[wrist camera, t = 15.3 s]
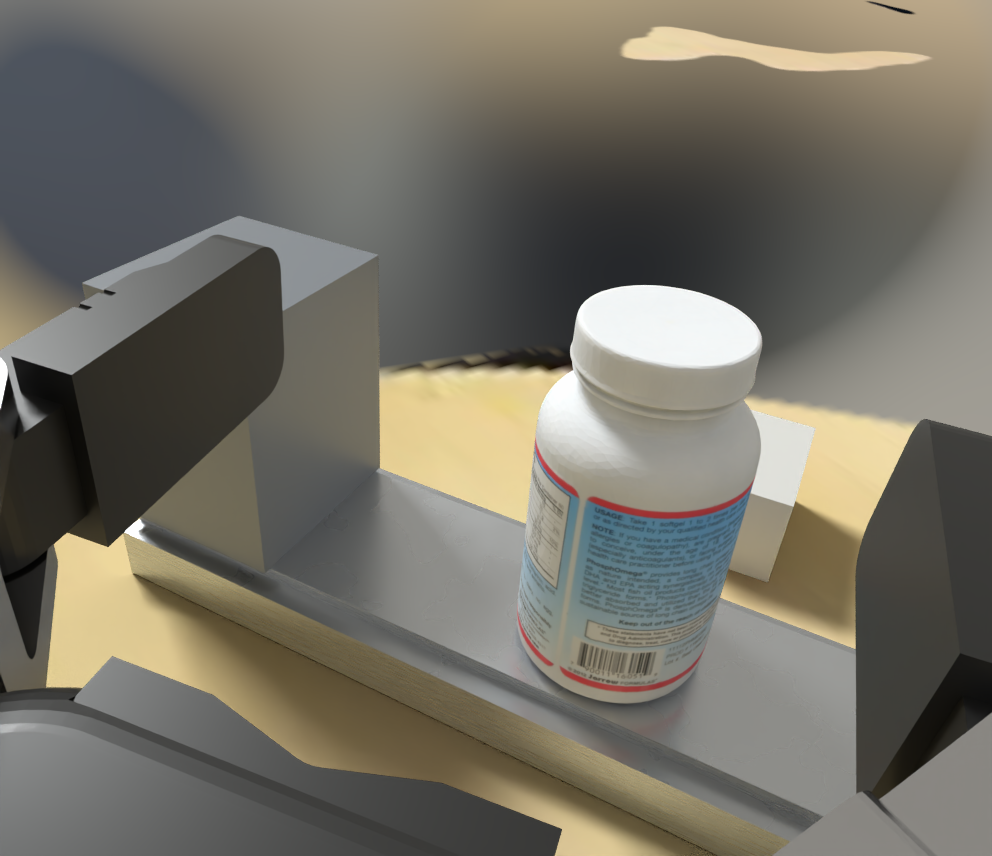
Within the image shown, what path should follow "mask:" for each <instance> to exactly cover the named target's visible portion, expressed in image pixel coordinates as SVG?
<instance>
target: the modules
mask: <svg viewBox="0 0 992 856" xmlns="http://www.w3.org/2000/svg"><path fill="white" fill-rule="evenodd" d="M217 234H218V235H223V236H227V237H231V238H235V239H239V240H243V241H247V242H250V243H254V244H258V245H262V246H266V247H269V248H271V249H273V250H274V251H275V252H276V254H277V256H278V258H279V262H280V268H281V286H282V310H283V334H284V362H283V368H282V371H281V375H280V378H279V380H278V383H277V385H276V387H275V388H274V390H273V392H272V393H271V394H270V396H269V397H268V398H267V399H266V400H265V401H264V402H263V403H262V404H260V405H259V406H258V407H257V408H256V409H255V410H254V411H253V412H252V413H251V414H250V415H249V416H248V417H247V418H246V419H244V420H243V421H242V422H241V423H240V424H239V425H238V426H237V427H236V428H235V429H234V430H233V431H232V432H231V433H229V434H228V435H227V436H226V437H225V438H224V439H223V440H222V441H221V442H220V443H219V444H218V445H217V446H216V447H215V448H213V449H212V450H211V451H210V452H209V453H208V454H207V455H206V456H205V457H204V458H203V459H202V460H201V461H200V462H199V463H197V464H196V465H195V466H194V467H193V468H192V469H191V470H190V471H189V472H188V473H187V474H186V475H185V476H184V477H182V478H181V479H180V480H179V481H178V482H177V483H176V484H175V485H174V486H173V487H172V488H171V489H170V490H169V491H168V492H166V493H165V494H164V495H163V496H162V497H161V498H160V499H159V500H158V501H157V502H156V503H155V504H154V505H153V506H152V507H150V508H149V509H148V510H147V511H146V512H145V513H144V514H143V515H142V516H141V518H143V519H145V520H148V521H150V522H152V523H154V524H156V525H159V526H161V527H163V528H165V529H167V530H170V531H172V532H174V533H176V534H179V535H181V536H183V537H185V538H187V539H190V540H192V541H194V542H196V543H198V544H201V545H203V546H205V547H207V548H209V549H212V550H214V551H216V552H218V553H220V554H223V555H225V556H227V557H229V558H232V559H234V560H236V561H238V562H240V563H243V564H245V565H247V566H249V567H251V568H254V569H256V570H258V571H260V572H262V573H266V572H267V571H268V570H269V569H270V568H271V567H273V566H274V565H275V564H276V563H277V562H278V561H279V560H280V559H281V558H282V557H283V556H284V555H286V554H287V553H288V552H289V551H290V550H291V549H292V548H293V547H294V546H295V545H296V544H297V543H299V542H300V541H301V540H302V539H303V538H304V537H305V536H306V535H307V534H308V533H309V532H310V531H312V530H313V529H314V528H315V527H316V526H317V525H318V524H319V523H320V522H321V521H322V520H323V519H325V518H326V517H327V516H328V515H329V514H330V513H331V512H332V511H333V510H334V509H335V508H336V507H338V506H339V505H340V504H341V503H342V502H343V501H344V500H345V499H346V498H347V497H348V496H349V495H351V494H352V493H353V492H354V491H355V490H356V489H357V488H358V487H359V486H360V485H361V484H362V483H364V482H365V481H366V480H367V479H368V478H369V477H370V476H371V475H372V474H373V473H374V472H375V471H377V470H378V469H379V468H380V424H379V265H378V264H379V263H378V262H379V261H378V260H379V258H378V255H376V254H373V253H369V252H365V251H362V250H358V249H355V248H351V247H348V246H344V245H341V244H337V243H334V242H330V241H327V240H323V239H319V238H316V237H312V236H309V235H305V234H302V233H298V232H295V231H291V230H287V229H284V228H280V227H277V226H273V225H270V224H266V223H263V222H259V221H256V220H252V219H248V218H245V217H241V216H237V217H235V218H232V219H230V220H228V221H225V222H223V223H221V224H219V225H216V226H214V227H212V228H209V229H207V230H204V231H202V232H200V233H197V234H195V235H193V236H191V237H188V238H186V239H183V240H181V241H179V242H176V243H174V244H172V245H169V246H167V247H165V248H162V249H160V250H158V251H155V252H153V253H151V254H149V255H146V256H144V257H141V258H139V259H137V260H135V261H132V262H130V263H128V264H125V265H123V266H121V267H118V268H116V269H113V270H111V271H109V272H106V273H104V274H102V275H99V276H97V277H95V278H92V279H90V280H88V281H86V282H83V283H82V285H83V290H84V295H85V300H86V299H88V298H90V297H92V296H93V295H95V294H97V293H101V294H103V293H104V289H105V288H107V287H109V286H110V285H112V284H114V283H115V282H117V281H119V280H120V279H122V278H124V277H126V276H127V275H129V274H131V273H132V272H135V271H138V270H142V269H145V268H148V267H152V266H155V265H159V264H162V263H166V262H169V261H170V260H172V259H174V258H175V257H177V256H179V255H180V254H182V253H184V252H185V251H187V250H189V249H190V248H192V247H194V246H195V245H197V244H199V243H200V242H202V241H203V240H205V239H207V238H208V237H210V236H213V235H217Z"/></svg>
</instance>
